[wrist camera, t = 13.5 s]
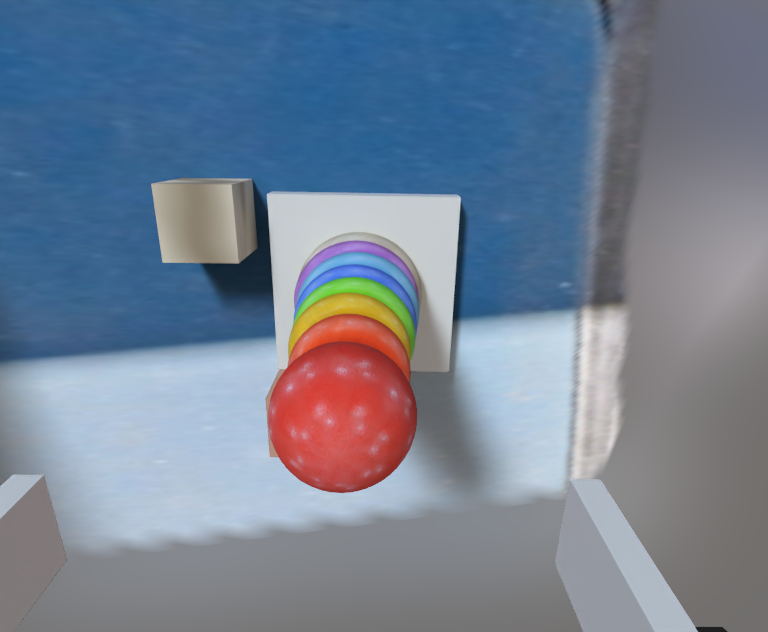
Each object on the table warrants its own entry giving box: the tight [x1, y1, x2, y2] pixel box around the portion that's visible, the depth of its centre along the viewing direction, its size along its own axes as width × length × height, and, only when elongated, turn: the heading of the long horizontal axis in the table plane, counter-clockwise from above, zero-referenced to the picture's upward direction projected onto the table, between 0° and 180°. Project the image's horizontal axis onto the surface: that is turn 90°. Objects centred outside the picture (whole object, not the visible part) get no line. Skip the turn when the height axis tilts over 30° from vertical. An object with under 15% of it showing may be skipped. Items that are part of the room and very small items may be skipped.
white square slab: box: [267, 191, 461, 372], centre depth 33 cm, size 12×12×2 cm
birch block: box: [151, 178, 258, 263], centre depth 30 cm, size 4×4×4 cm
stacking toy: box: [268, 232, 422, 493], centre depth 23 cm, size 8×8×19 cm
